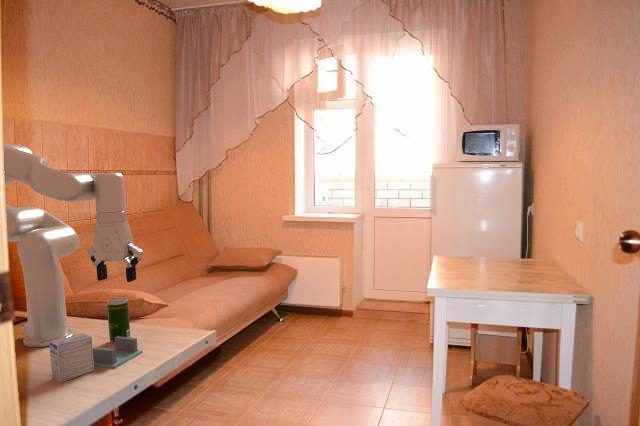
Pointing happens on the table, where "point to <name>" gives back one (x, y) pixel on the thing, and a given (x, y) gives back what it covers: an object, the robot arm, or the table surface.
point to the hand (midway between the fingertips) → (116, 280)
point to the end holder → (116, 353)
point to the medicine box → (71, 357)
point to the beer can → (118, 317)
